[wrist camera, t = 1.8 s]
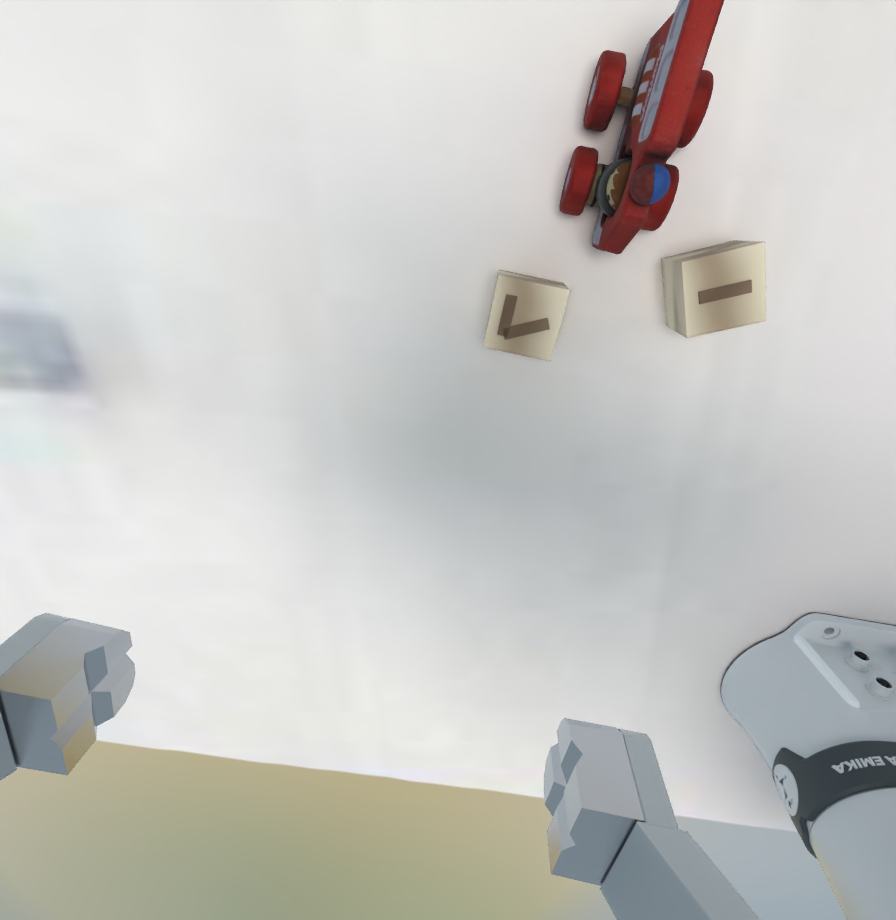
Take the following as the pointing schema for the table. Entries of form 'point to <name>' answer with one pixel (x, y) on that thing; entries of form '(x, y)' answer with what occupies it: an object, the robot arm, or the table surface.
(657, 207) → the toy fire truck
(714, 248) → the maple cube one
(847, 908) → the robot arm
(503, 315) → the maple cube seven
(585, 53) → the table surface
